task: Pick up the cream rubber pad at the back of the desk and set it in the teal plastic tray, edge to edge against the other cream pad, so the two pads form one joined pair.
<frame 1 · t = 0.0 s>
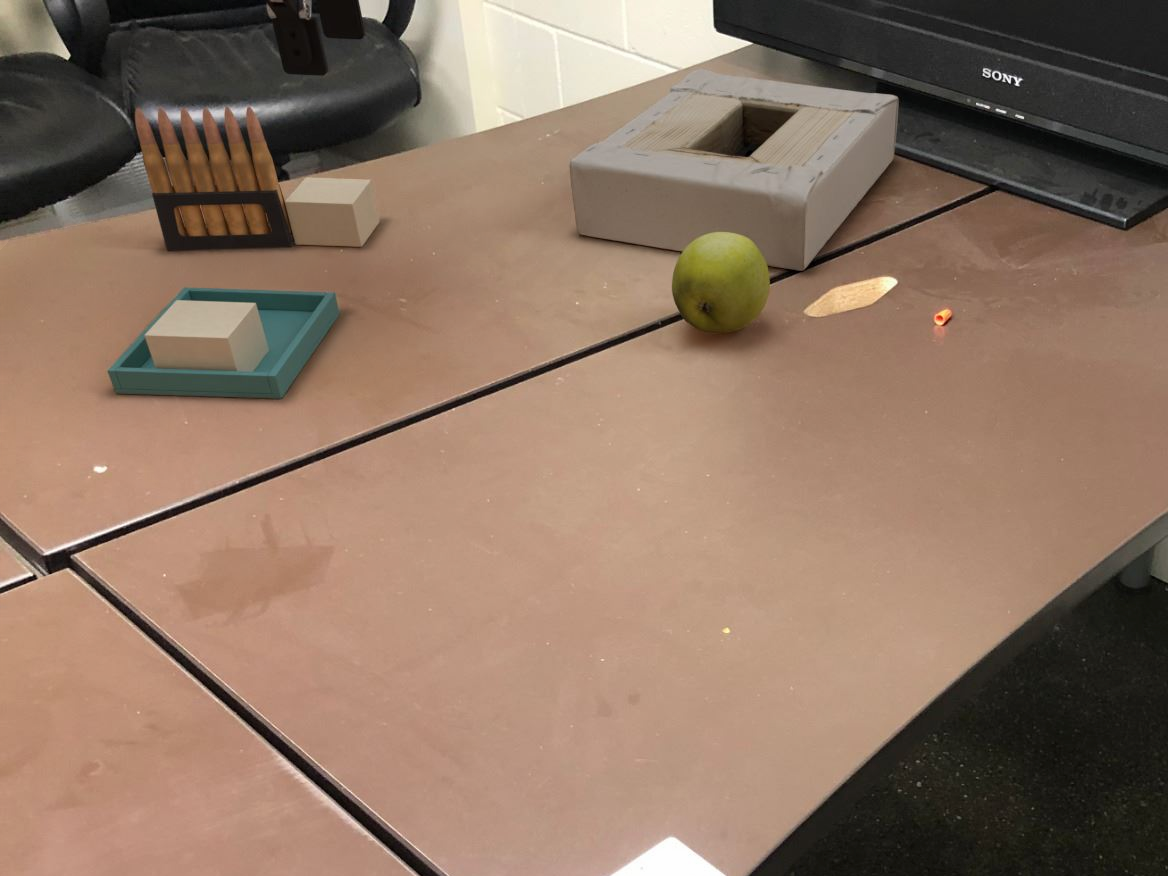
hand: (326, 55, 105), 18 cm above the table, tool pointing down, fingers open, 9 cm apart
tray: (233, 351, 105), on the table
pad a: (216, 367, 102), resting on tray
apple: (723, 330, 112), on the table
ammunition clip: (232, 246, 121), on the table
pad b: (338, 233, 124), on the table
box: (747, 198, 135), on the table
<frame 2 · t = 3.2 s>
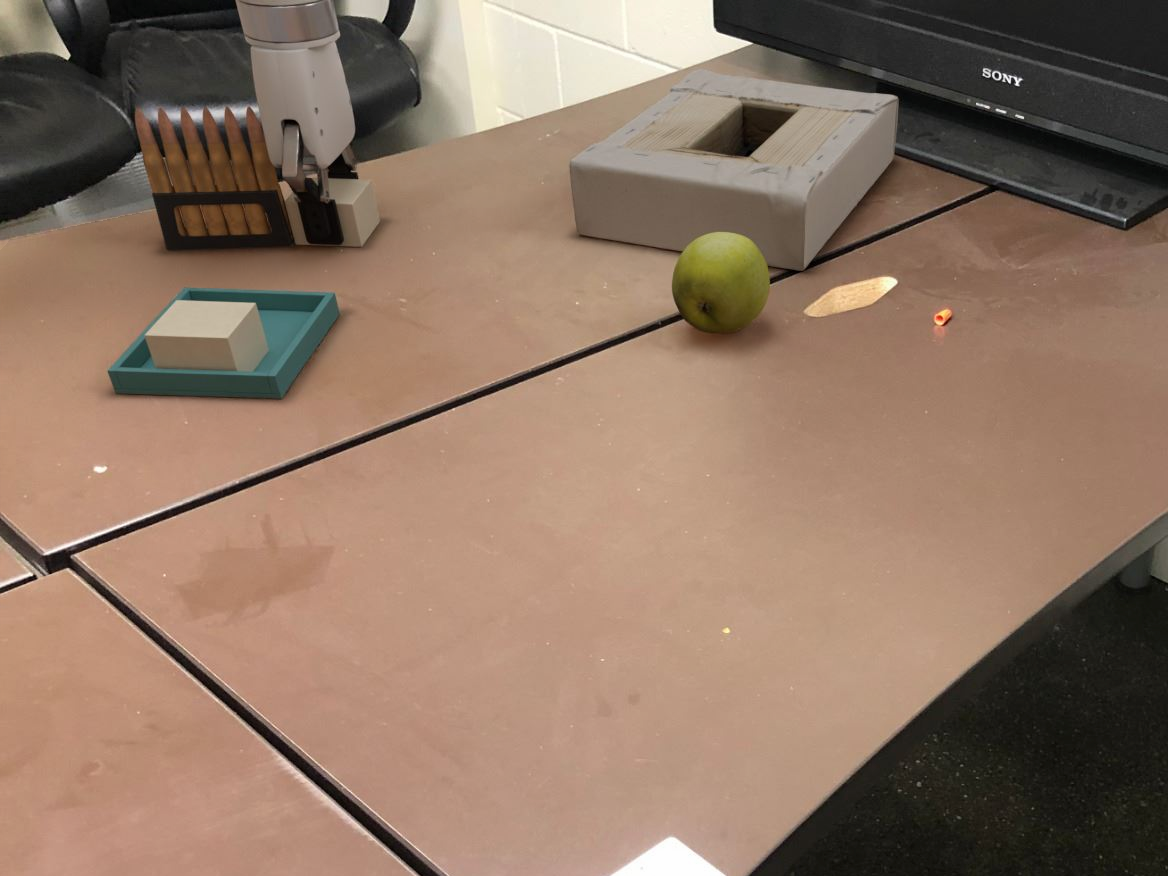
hand: (337, 226, 123), 1 cm above the table, tool pointing down, fingers closed on pad b, 6 cm apart
pad b: (338, 233, 124), on the table, touching gripper
everything else where it was.
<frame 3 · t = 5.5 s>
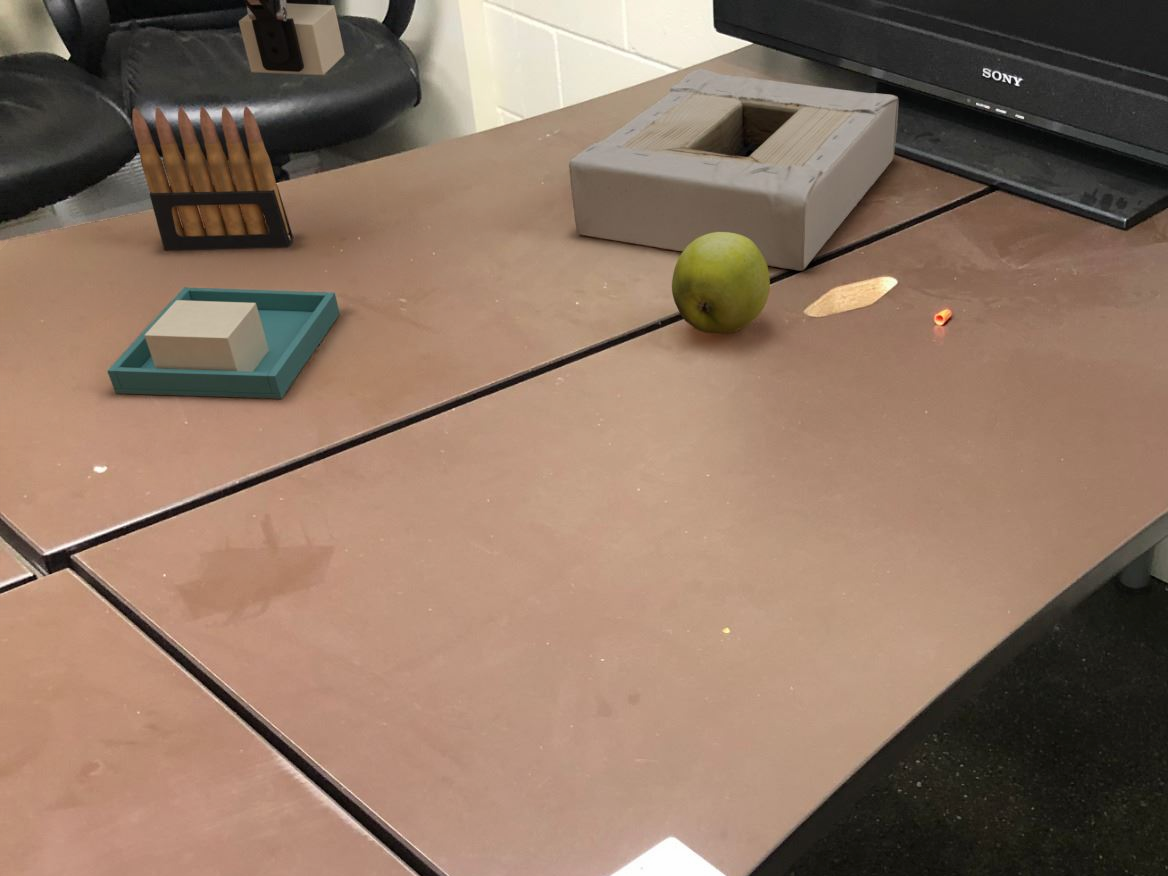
hand: (297, 56, 114), 15 cm above the table, tool pointing down, fingers closed on pad b, 6 cm apart
pad b: (299, 63, 114), point 15 cm above the table, touching gripper
everything else where it was.
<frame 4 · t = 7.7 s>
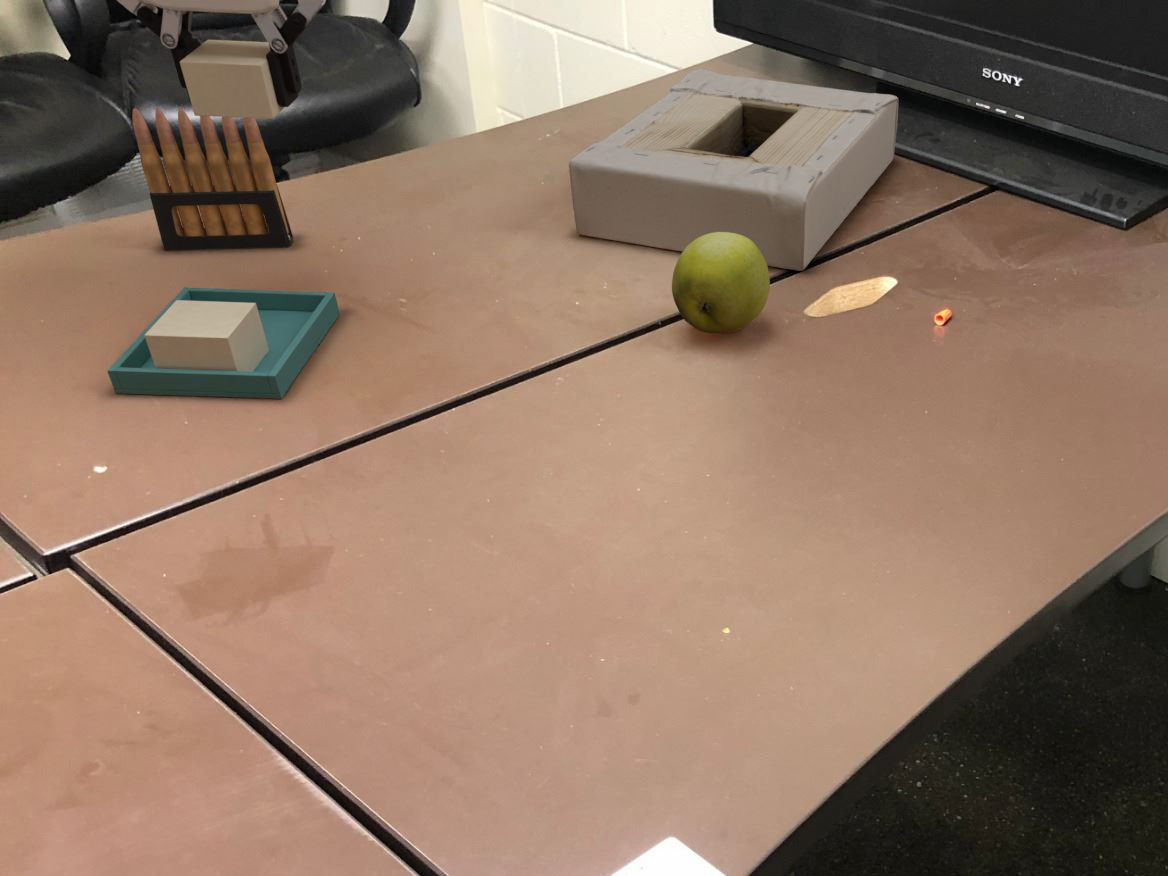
hand: (244, 97, 105), 15 cm above the table, tool pointing down, fingers closed on pad b, 6 cm apart
pad b: (247, 105, 106), point 15 cm above the table, touching gripper
everything else where it was.
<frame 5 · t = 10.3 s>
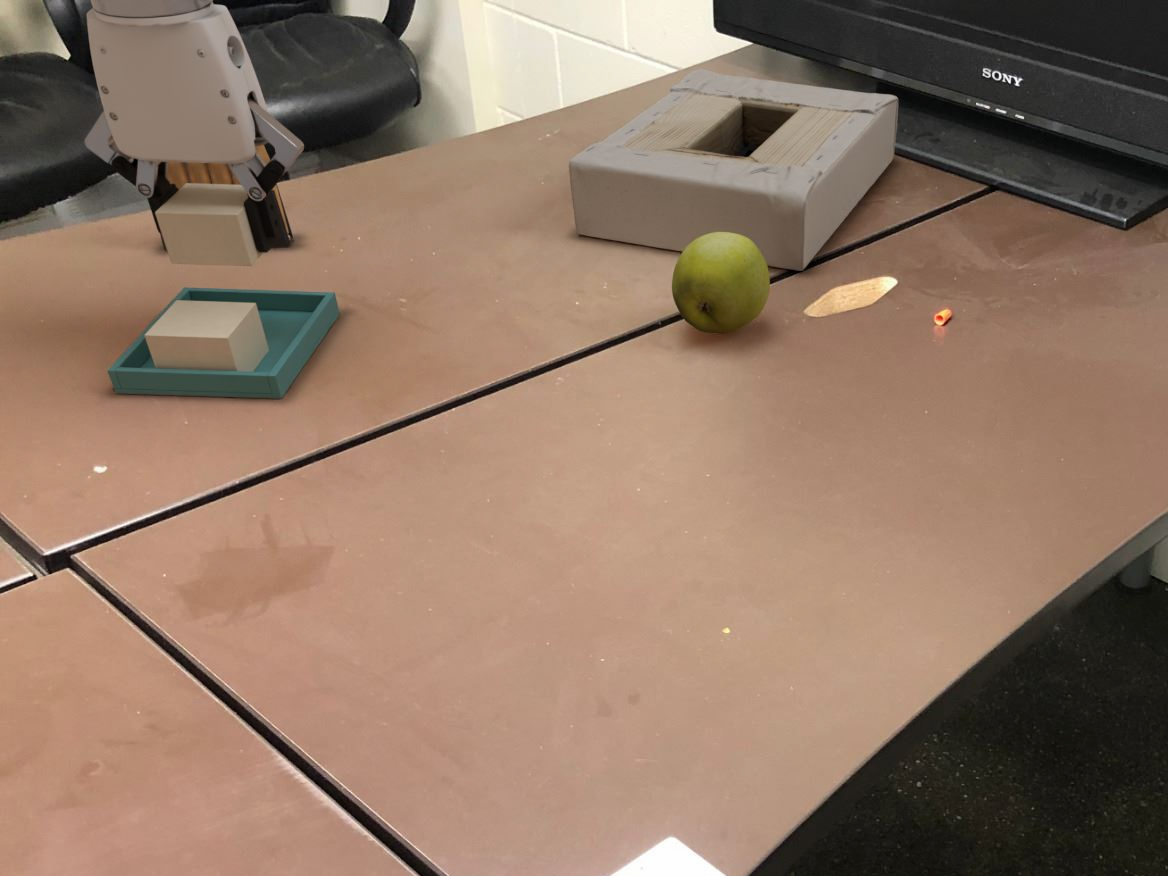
hand: (224, 242, 103), 8 cm above the table, tool pointing down, fingers closed on pad b, 6 cm apart
pad b: (226, 249, 103), point 7 cm above the table, touching gripper
everything else where it was.
when the fingers open (1 cm above the table, at t = 12.4 s): pad b stays where it is, resting on tray.
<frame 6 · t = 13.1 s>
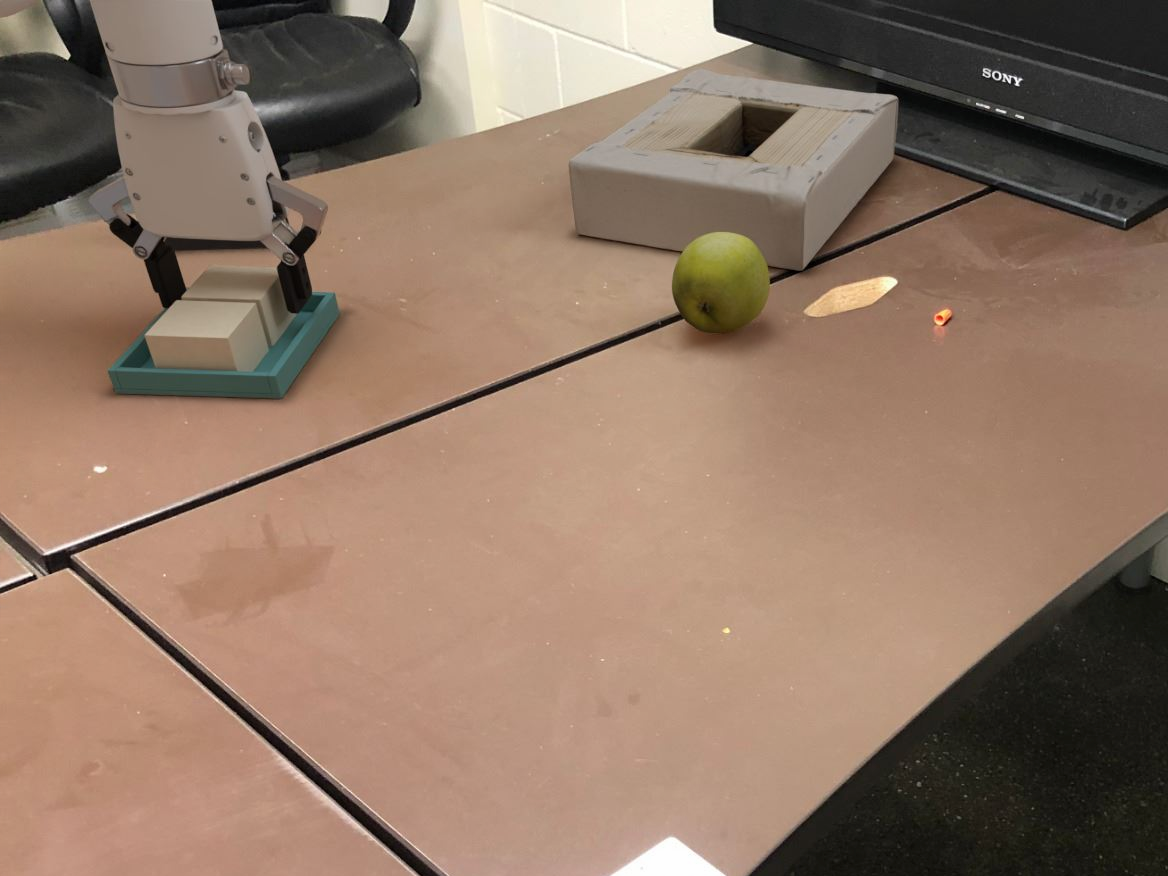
hand: (237, 303, 106), 3 cm above the table, tool pointing down, fingers open, 9 cm apart
pad b: (248, 328, 107), resting on tray
everything else where it was.
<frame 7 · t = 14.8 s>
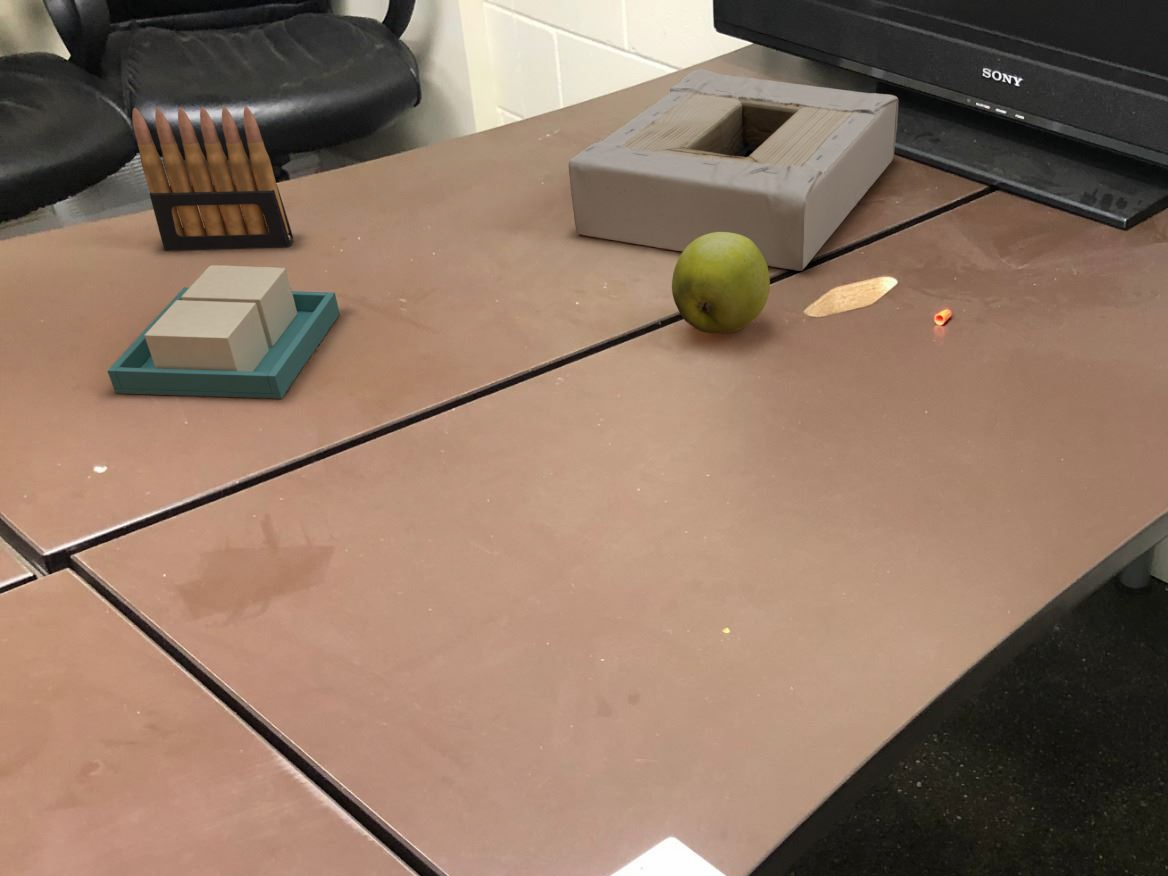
nothing on the table moved.
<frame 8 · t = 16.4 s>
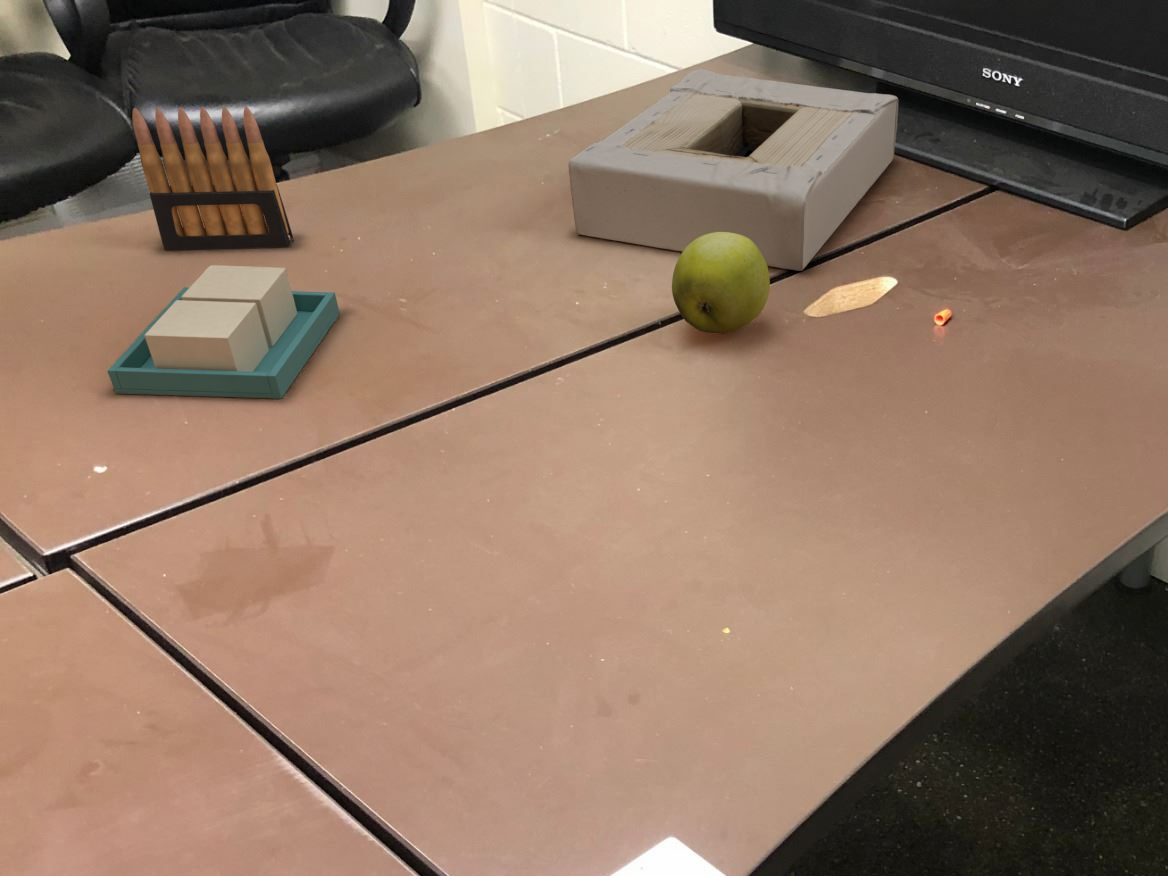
nothing on the table moved.
at the end: pad b 0.3 cm from the target spot in the tray, point 0.4 cm above the tray's base; pad b 6.6 cm from the pad a (horizontally); pad b tilted 0° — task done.
